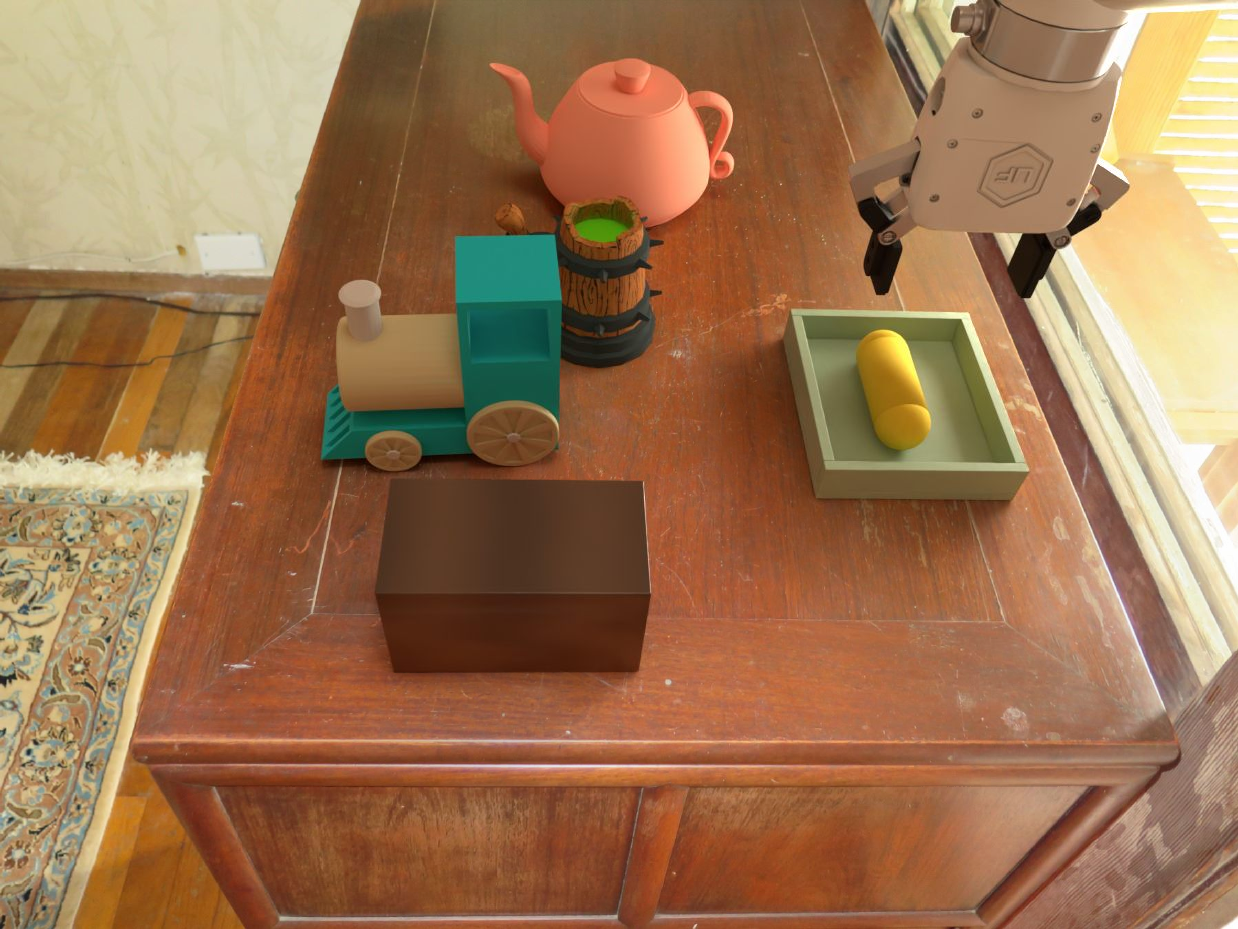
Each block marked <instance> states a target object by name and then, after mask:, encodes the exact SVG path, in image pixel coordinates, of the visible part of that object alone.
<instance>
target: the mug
mask: <svg viewBox="0 0 1238 929" xmlns="http://www.w3.org/2000/svg"><path fill="white" fill-rule="evenodd" d="M551 217H552V218H553V219H554V220H555V221H556V222H557V223H556V226H555V229H554V231H553V232H549V231H533V232H530V231H529V230H528V228H527V224H526V220H525V218H524V216H523V213H522V211H521V210H520V209H519V207H518V206H517V205H516V204H514V203H511V202H508V203H504V204H503V205H501V206H500V207H499V208H498V209H497V210H496V211H495V214H494V216H493V219H494V221H495V223H496V224H497V226H498V227H499V228H501V229H502V230H504V231H505V232H506V233H505V236H513V235H555V242H556V251H557V260H558V270H559V279H560V288H561V297H562V315H561V357H560V359H563V360H565V361H566V362H570V363H571V364H573V365H577V366H584V367H590V368H591V367H592V368H597V369H599V368H608V367H614V366H621V365H624V364H626V363H628V362H630V361H632V360H634V359H636V358H638V357H640V356H642V354H643V353H644V352H645V351H646V350H647V349H648V347H649V346H650V345H651V344H652V343H653V339H654V334H655V327H656V320H657V319H656V316H655V314H654V310H653V308H652V304H651V303H650V301H651V298H653V297H656V296H657V297H658V296H660V295H663V290H657V289H651V287H650V285H649V283H648V281H647V278H646V270H653V266H652V265H651V264H650V263H648V259H649V255H650V251H651V248H654V247H658V246H661V245H664V244H665V243H664V242H665V240H659V239H652V238H651V237H650V235H649V233H648V231H647V227H646V228H645V226H644V225H643V223H644V222H645V221H646V220H647V219H648V218H647V216H645V217H643V218H641V217H640V215H639V209H638V208H637V207H636V206H635V205H634V203H633V202H632V201H631V200H630V199H628V198H625V197H622V196H619V195H617V196H616V198H615V200H614V199H607V198H593V199H585V200H582V201H580V202H577V203H574V202H572V203H567V204H566V205H565V206H564V210H563V214H562V216H560V215H557V214H555V213H552V215H551Z"/></svg>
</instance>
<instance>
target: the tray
mask: <svg viewBox="0 0 1238 929" xmlns="http://www.w3.org/2000/svg"><path fill="white" fill-rule="evenodd" d="M877 330H889V331H893V332H895V333H897V334H898V335H900V336H901V337H902V338H903V339H904V340H905V342H906V344H907V346H908V348H909V351H910V355H911V358H912V361H913V364H914V367H915V370H916V373H917V377H918V380H919V383H920V386H921V389H922V392H923V395H924V398H925V402H926V405H927V408H928V411H929V414H930V419H931V426H930V431H929V433H928V436H927V437H926V438H925V440H924V441H923V442H922V443H921V444H919V445H918V446H916V447H914V448H912V449H908V450H896V449H893V448H890V447H888V446H886V445H885V444H884V443H883V442H881V440H880V439H879V438H878V436H877V434H876V432H875V429H874V425H873V421H872V417H871V414H870V410H869V406H868V403H867V399H866V395H865V391H864V388H863V384H862V380H861V376H860V373H859V369H858V365H857V361H856V352H857V348H858V346H859V344H860V342H861V341H862V339H863V338H864V337H865V336H867V335H868V334H870V333H871V332H874V331H877ZM782 342H783V347H784V352H785V356H786V357H785V358H786V361H787V366H788V371H789V377H790V381H791V386H792V392H793V395H794V401H795V406H796V411H797V415H798V420H799V426H800V429H801V435H802V440H803V444H804V449H805V454H806V459H807V463H808V468H809V472H810V473H809V474H810V478H811V483H812V487H813V493H814V498H815V499H834V500H835V499H836V500H837V499H840V500H841V499H842V500H843V499H844V500H845V499H847V500H848V499H849V500H850V499H851V500H856V499H857V500H946V501H947V500H953V501H954V500H956V501H957V500H958V501H959V500H962V501H963V500H965V501H966V500H967V501H970V500H971V501H1014V499H1015V497H1016V495H1017V493H1018V492H1019V490H1020V489H1021V487H1022V486H1023V484H1024V482H1025V480H1026V479H1027V478H1028V476H1029V474H1030V468H1029V467H1028V464H1027V461H1026V458H1025V456H1024V453H1023V451H1022V448H1021V445H1020V443H1019V440H1018V438H1017V436H1016V433H1015V432H1016V431H1015V430H1014V426H1013V425H1012V422H1011V419H1010V417H1009V414H1008V411H1007V409H1006V407H1005V404H1004V402H1003V399H1002V396H1001V394H1000V391H999V389H998V386H997V384H996V381H995V378H994V376H993V372H992V371H991V367H990V365H989V363H988V361H987V357H986V355H985V353H984V349H983V347H982V345H981V342H980V340H979V337H978V335H977V332H976V330H975V326H974V325H973V322H972V319H971V316H970V313H969V312H955V311H919V310H917V311H910V310H909V311H908V310H875V309H874V310H870V309H869V310H867V309H829V308H828V309H826V308H823V309H822V308H789V312H788V316H787V321H786V324H785V328H784V332H783V335H782Z"/></svg>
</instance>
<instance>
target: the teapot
mask: <svg viewBox="0 0 1238 929" xmlns="http://www.w3.org/2000/svg"><path fill="white" fill-rule="evenodd" d="M489 67H490V68H491V70H492V71H494V72H495V73H497V74H498V75H499V77H501V78H502V79H503V80H504V81H505V82H506V84H507V86H508V87H509V88H510V89H509V90H510V91H511V94H512V99H513V108H514V123H515V124H514V125H515V131H516V135H517V138H518V143H519V144H520V146H521V148H522V150H523V151H524V152H525V154H526V155H527V156H528V157H529V158H530V159H531V160H533V161H534V162H536V164H538V165H539V170H540V174H541V177H542V180H543V182H544V184H545V186H546V188H547V189H548V191H549V192H550V193H551V195H552V196H553V197H554V198H555V199H556V201H558V202H559V203H560V204H561V205H562V206H563V207H565V205H566V204H567V203H572V202H574V203H577V202H580V201H582V200H585V199H593V198H607V199H614V200H615V198H616V196H617V195H619V196H622V197H625V198H628V199H630V200H631V201H632V202H633V203H634V205H635V206H636V207H637V208H638V209H639V215H640V217H641V218H643V217H645V216H647V218H648V219H647V220H646V221H645V222H644V223H643V225H644V226H645V228H646V229H647V228H652V227H655V226H659V225H662V224H665V223H667V222H669V221H671V220H673V219H674V218H677V216H680V215H681V214H683V213H684V212H685V211H687V210H688V209H690V208H691V207H692V206H694V204H696V202H698V200H700V198H701V196H702V195H703V194H704V192H705V191H706V188H707V186H708V183H709V179H712V180H717V181H718V180H723V179H725V178H727V177H729V176H730V175H731V174H732V172H733V171H734V167H735V160H734V157H733V156H732V154H731V153H729V152H728V151H723V148H724V146H725V144H726V142H727V140H728V138H729V135H730V133H731V129H732V126H733V122H734V114H733V109H732V106H731V104H730V103H729V101H728V100H727V99H726V98H725V97H724V96H722V95H720V94H719V93H716V92H715V91H711V90H698V91H694V92H691V93H690V94H689V93H688V91H687V90H686V88H685V86H684V85H683V84H682V83H681V80H679V79H678V77H676V76H675V75H673V74H672V73H671V72H670V71H668V70H666V69H665V68H662V67H660V66H657V65H654V64H651V63H648V62H647V61H645V60H642V59H640V58H634V57H631V58H629V57H627V58H622V59H619V60H615V61H614V60H613V61H607V62H604V63H599V64H597V65H595V66H592V67H591V68H588V69H587V70H586V71H584V72H583V73H582V74H581V75H580V76H579V77H578V78H577V79H576V80H575V82H574V83H573V84H571V86H570V87H569V89H568V90H567V91H566V93H565V95H564V96H563V97H562V99H561V100H560V102H559V103H558V104H557V106H556V107H555V109H554V111H553V113H552V115H551V117H550V119H549V122H547V121H544V120H543V119H542V118H541V117H539V116H538V114H537V113H536V110H535V108H534V100H533V91H532V86H531V84H530V82H529V79H528V78H527V76H526V75H525V74H524V73H523V72H521V71H520V70H519V69H517V68H515V67H513V66H509V65H507V64H505V63H504V64H503V63H499V62H491V63H489ZM700 107H709V108H713V109H716V110H717V111H719V112H720V113H721V120H720V124H719V127H718V130H717V132H716V134H715V136H714V138H713V140H712V142H711V144H710V145H709V141H708V138H707V137H708V136H707V134H706V130H705V126H704V124H703V122H702V119H701V116H700V113H699V112H698V110H697V108H700ZM716 162H723V164H722V165H716Z"/></svg>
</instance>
